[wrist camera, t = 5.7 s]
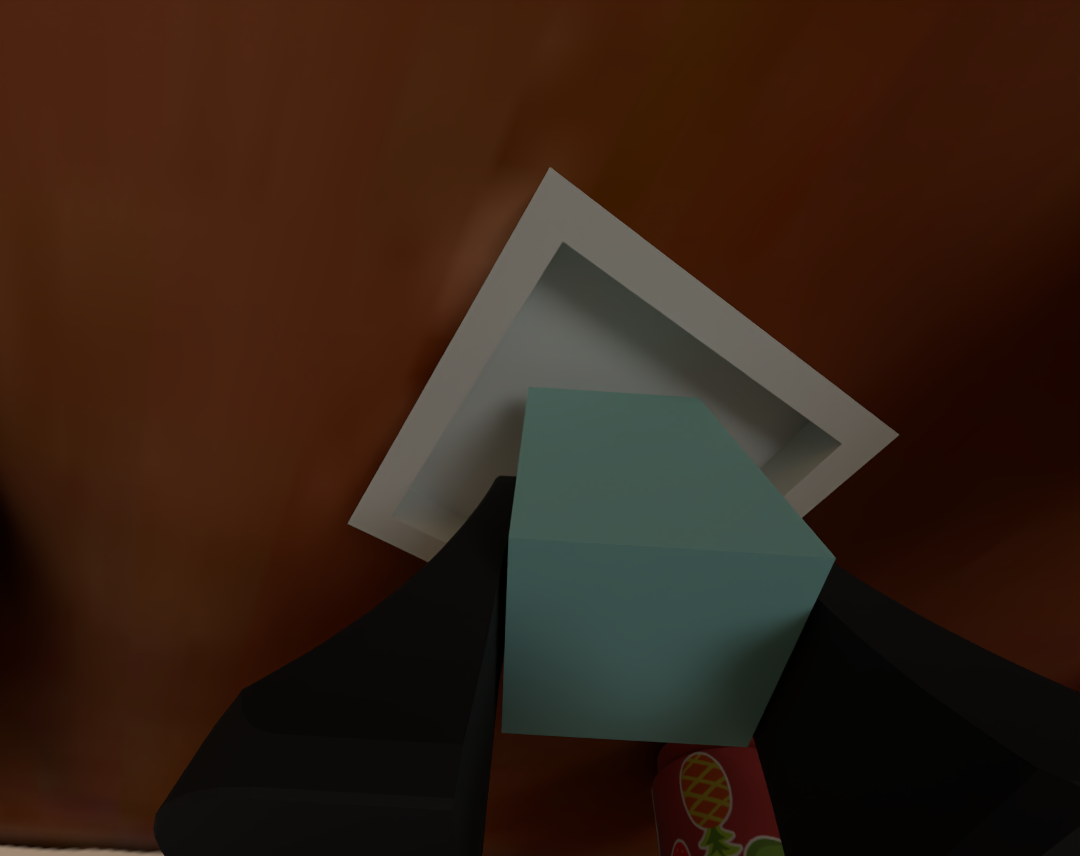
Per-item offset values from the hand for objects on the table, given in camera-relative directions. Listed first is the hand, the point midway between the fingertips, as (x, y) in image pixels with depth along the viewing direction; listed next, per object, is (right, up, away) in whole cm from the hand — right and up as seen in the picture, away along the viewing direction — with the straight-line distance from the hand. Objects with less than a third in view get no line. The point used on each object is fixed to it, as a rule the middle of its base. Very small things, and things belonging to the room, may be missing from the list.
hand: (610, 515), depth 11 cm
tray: (0, +2, +3) cm, 4 cm away
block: (0, +1, +2) cm, 2 cm away
